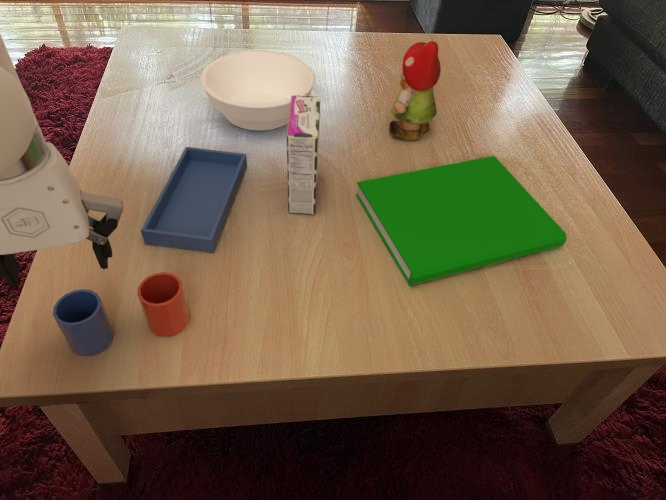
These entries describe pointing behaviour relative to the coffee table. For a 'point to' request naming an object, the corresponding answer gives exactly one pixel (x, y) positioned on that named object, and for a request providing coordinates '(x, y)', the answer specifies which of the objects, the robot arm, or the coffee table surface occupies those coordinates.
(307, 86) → the bowl
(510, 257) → the book
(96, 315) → the blue cup
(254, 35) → the coffee table surface
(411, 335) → the coffee table surface
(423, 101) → the figurine
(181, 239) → the blue tray
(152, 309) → the red cup
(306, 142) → the candy bar box
